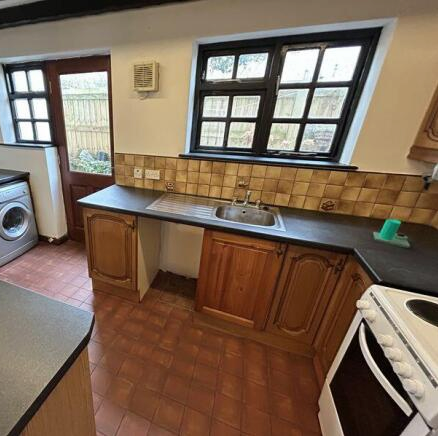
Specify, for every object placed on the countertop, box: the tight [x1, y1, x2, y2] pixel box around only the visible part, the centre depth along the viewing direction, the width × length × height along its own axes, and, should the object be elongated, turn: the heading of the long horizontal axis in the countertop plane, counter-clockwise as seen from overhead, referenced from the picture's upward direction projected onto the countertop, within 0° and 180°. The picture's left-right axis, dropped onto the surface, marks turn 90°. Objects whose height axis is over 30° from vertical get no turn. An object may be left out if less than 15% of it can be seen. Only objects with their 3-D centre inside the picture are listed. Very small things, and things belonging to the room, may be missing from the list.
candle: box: [379, 218, 402, 240], centre depth 136 cm, size 6×6×12 cm
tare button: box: [396, 232, 406, 237], centre depth 138 cm, size 3×3×2 cm
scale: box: [372, 231, 411, 249], centre depth 138 cm, size 14×12×3 cm
